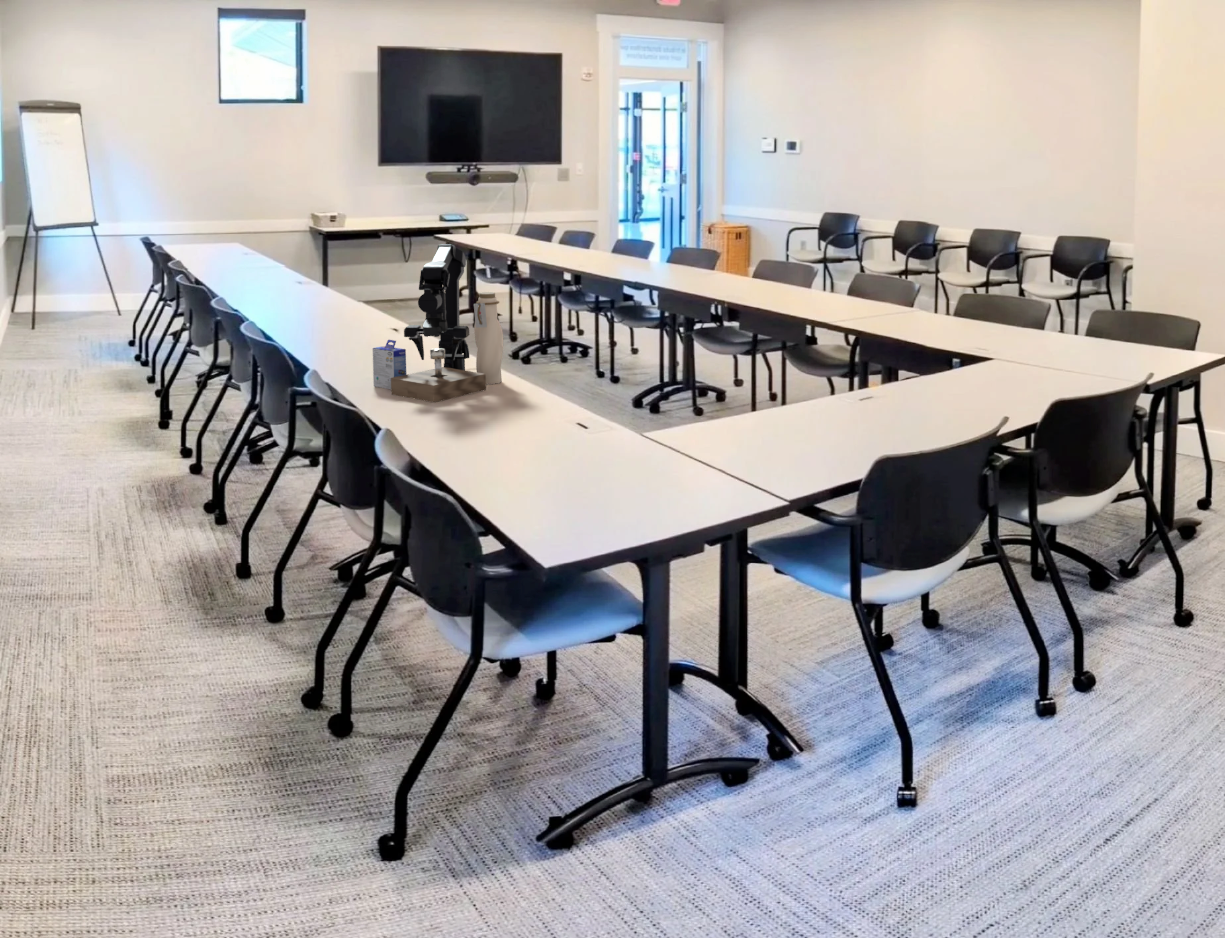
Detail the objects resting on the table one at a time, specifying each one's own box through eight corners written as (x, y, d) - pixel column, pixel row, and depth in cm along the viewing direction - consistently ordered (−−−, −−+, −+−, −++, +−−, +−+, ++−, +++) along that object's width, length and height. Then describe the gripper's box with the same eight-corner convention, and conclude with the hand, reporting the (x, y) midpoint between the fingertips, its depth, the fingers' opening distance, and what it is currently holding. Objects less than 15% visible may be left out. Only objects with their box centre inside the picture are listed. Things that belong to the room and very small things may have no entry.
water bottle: (498, 386, 351) (495, 295, 343) (470, 385, 353) (467, 295, 345) (507, 379, 361) (505, 291, 353) (480, 378, 362) (478, 290, 355)
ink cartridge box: (408, 387, 348) (406, 341, 344) (395, 390, 344) (392, 343, 340) (386, 383, 354) (384, 337, 350) (373, 386, 350) (370, 340, 346)
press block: (443, 382, 356) (443, 367, 355) (486, 389, 346) (485, 373, 344) (391, 394, 339) (390, 377, 338) (434, 402, 329) (433, 385, 327)
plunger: (438, 376, 344) (437, 347, 342) (449, 378, 342) (448, 349, 339) (428, 378, 341) (427, 349, 338) (438, 380, 338) (437, 351, 336)
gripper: (398, 311, 328) (400, 364, 333) (461, 312, 327) (463, 365, 331) (407, 306, 339) (409, 357, 343) (468, 307, 338) (470, 358, 342)
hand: (437, 360), depth 340 cm, fingers open, 9 cm apart
